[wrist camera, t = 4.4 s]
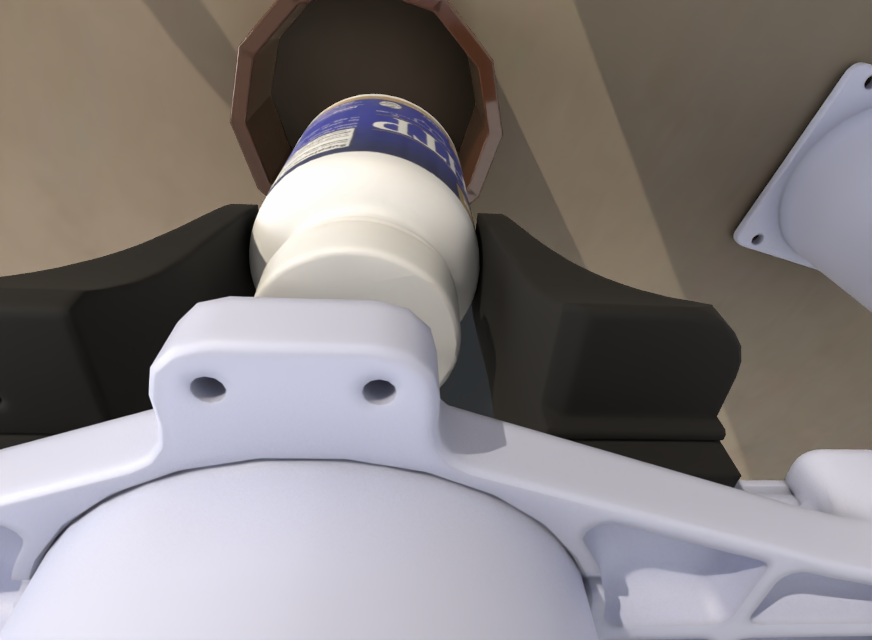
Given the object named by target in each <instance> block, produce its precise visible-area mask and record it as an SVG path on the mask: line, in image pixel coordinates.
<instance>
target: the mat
mask: <svg viewBox="0 0 872 640" xmlns="http://www.w3.org/2000/svg"><path fill="white" fill-rule="evenodd" d="M460 324H461V346H460V352H459V355H458V359H457V361H456V364H455V366H454V368H453V370H452V372H451V374H450V376H449V377H448V379H447V380H446V381H445V383H444V384H443V385H442V386H441V387H440V388H439V389H440V399H441V400H442V401H444V402H445V403H446V404H447V405H449V406H452V407H456V408H459V409H463V410H466V411H470V412H473V413H477V414H480V415H484V416H487V417H490V418H494V416H493V407H492V399H491V391H490V386H489V381H488V376H487V372H486V368H485V364H484V360H483V356H482V352H481V348H480V344H479V340H478V336H477V332H476V328H475V324H474V319H473V315H472V304H471V305H470V307H469V309H468V311H467V312H466V314H465V316H464V317H463V319H462V320H461V321H460Z"/></svg>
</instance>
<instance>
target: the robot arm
mask: <svg viewBox="0 0 872 640" xmlns="http://www.w3.org/2000/svg"><path fill="white" fill-rule="evenodd" d="M870 76H872V65H871V64H867V63H863V62H859V63H856V64H854V65H852V66H851V67H849V68H848V69H847V71H846V72H845V73H844V74H843V76H842V77H841V79H840V80H839V82H838V83H837V85H836V86H835V87H834V89H833V90H832V92H831V93H830V95H829V96H828V98H827V99H826V100H825V102H824V103H823V105H822V106H821V108H820V109H819V111H818V112H817V113H816V115H815V116H814V118H813V119H812V121H811V122H810V124H809V125H808V126H807V128H806V129H805V131H804V132H803V134H802V135H801V137H800V138H799V139H798V141H797V142H796V144H795V145H794V147H793V148H792V150H791V151H790V152H789V154H788V155H787V157H786V158H785V160H784V161H783V163H782V164H781V165H780V167H779V168H778V170H777V171H776V173H775V174H774V176H773V177H772V178H771V180H770V181H769V183H768V184H767V186H766V187H765V188H764V190H763V191H762V193H761V194H760V196H759V197H758V199H757V200H756V201H755V203H754V204H753V206H752V207H751V209H750V210H749V212H748V213H747V214H746V216H745V217H744V219H743V220H742V222H741V223H740V225H739V226H738V227H737V229H736V230H735V232H734V237H733V238H734V240H735V241H736V242H737V243H738V244H739V245H741V246H743V247H747V248H750V249H753V250H756V251H759V252H763V253H766V254H769V255H772V256H775V257H778V258H782V259H785V260H788V261H791V262H794V263H797V264H801V265H804V266H807V267H810V268H813V269H817V270H819V271H820V272H822V273H823V274H824V275H825V276H827V277H828V278H829V279H830V280H832V281H833V282H834V283H835V284H837V285H838V286H839V287H840V288H842V289H843V290H844V291H845V292H847V293H848V294H849V295H850V296H852V297H853V298H854V299H855V300H857V301H858V302H859V303H860V304H862V305H863V306H864V307H865V308H866V309H868V310H869V311H870V312H871V313H872V79H871V81H870V83H869V84H868V85H867V86H864V84H865V82H866V80H867V79H868V78H869V77H870ZM258 212H259V210H258V205H247V204H230V205H226V206H223V207H221V208H218V209H216V210H214V211H212V212H210V213H208V214H206V215H203V216H201V217H199V218H197V219H195V220H193V221H191V222H189V223H187V224H185V225H183V226H181V227H179V228H177V229H175V230H172V231H170V232H168V233H165V234H163V235H161V236H158V237H156V238H154V239H152V240H149V241H147V242H145V243H142V244H139V245H137V246H134V247H131V248H129V249H126V250H123V251H119V252H116V253H113V254H110V255H107V256H104V257H100V258H96V259H92V260H88V261H84V262H80V263H76V264H71V265H67V266H63V267H59V268H54V269H49V270H43V271H37V272H32V273H25V274H18V275H12V276H4V277H0V640H872V450H857V449H818V450H811V451H808V452H806V453H804V454H802V455H800V456H799V457H798V458H797V459H796V460H795V461H794V462H793V464H792V465H791V467H790V469H789V471H788V473H787V476H786V478H785V480H739V479H740V477H741V474H740V473H739V471H738V469H737V468H736V466H735V465H734V463H733V461H732V460H731V458H730V457H729V455H728V453H727V452H726V450H725V448H724V447H723V445H722V444H721V442H720V440H723V439H724V437H725V435H726V433H725V429H724V427H723V425H722V424H721V422H720V421H719V419H718V418H717V415H718V413H719V411H720V409H721V407H722V405H723V403H724V401H725V398H726V396H727V394H728V392H729V390H730V388H731V386H732V384H733V382H734V380H735V378H736V376H737V373H738V370H739V367H740V363H741V345H740V343H739V341H738V339H737V336H736V334H735V332H734V331H733V330H732V329H731V328H730V326H729V325H728V324H727V323H726V321H725V320H724V319H723V318H722V317H721V315H720V314H719V313H718V312H717V311H716V309H715V308H714V307H713V306H712V305H710V304H705V303H699V302H693V301H688V300H682V299H676V298H670V297H666V296H662V295H658V294H654V293H650V292H646V291H642V290H639V289H636V288H632V287H629V286H626V285H623V284H620V283H618V282H615V281H612V280H609V279H607V278H604V277H602V276H599V275H597V274H595V273H592V272H590V271H588V270H586V269H584V268H582V267H580V266H578V265H576V264H574V263H572V262H571V261H569V260H567V259H565V258H564V257H562V256H561V255H559V254H557V253H556V252H554V251H553V250H551V249H550V248H548V247H547V246H545V245H544V244H542V243H541V242H540V241H538V240H537V239H535V238H534V237H533V236H531V235H530V234H529V233H528V232H526V231H525V230H524V229H522V228H521V227H520V226H519V225H517V224H516V223H515V222H513V221H512V220H511V219H509V218H508V217H506V216H505V215H503V214H484V213H478V215H477V224H476V235H477V240H478V247H479V257H480V271H479V279H478V284H477V289H476V292H475V295H474V298H473V301H472V303H471V304H472V315H473V319H474V324H475V328H476V332H477V336H478V340H479V344H480V348H481V352H482V356H483V360H484V364H485V368H486V372H487V376H488V381H489V386H490V391H491V399H492V407H493V416H494V418H490V417H487V416H484V415H480V414H477V413H473V412H470V411H466V410H463V409H459V408H456V407H452V406H449V405H447V404H446V403H445V402H444V401H442V400H441V399H440V389H439V374H438V359H437V351H436V347H435V343H434V339H433V335H432V332H431V328H430V327H429V326H428V325H427V324H425V323H424V322H423V321H422V320H421V319H420V318H419V317H417V316H416V315H415V314H414V313H413V312H412V311H411V310H410V309H408V308H405V307H401V306H397V305H393V304H389V303H385V302H381V301H377V300H349V299H312V298H275V297H254V296H255V293H256V289H255V286H254V283H253V279H252V276H251V271H250V263H249V247H250V238H251V232H252V229H253V225H254V222H255V219H256V217H257V214H258ZM758 234H759V236H758V238H757V239H756V240H753V241H752V239H753V237H754V236H756V235H758Z"/></svg>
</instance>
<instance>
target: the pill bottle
mask: <svg viewBox="0 0 872 640" xmlns="http://www.w3.org/2000/svg"><path fill="white" fill-rule="evenodd" d="M249 263H250V271H251V276H252V279H253V283H254V286H255V289H256V293H255V296H254V297H275V298H312V299H349V300H377V301H381V302H385V303H389V304H393V305H397V306H401V307H405V308H408V309H410V310H411V311H412V312H413V313H414V314H415V315H416V316H417V317H419V318H420V319H421V320H422V321H423V322H424V323H425V324H427V325H428V326H429V327H430V328H431V332H432V335H433V339H434V343H435V347H436V351H437V359H438V374H439V388H440V387H441V386H442V385H443V384H444V383H445V381H446V380H447V379H448V377H449V376H450V374H451V372H452V370H453V368H454V366H455V364H456V361H457V359H458V355H459V352H460V346H461V324H460V321H461V320H462V319H463V317H464V316H465V314H466V312H467V311H468V309H469V307H470V305H471V303H472V301H473V298H474V295H475V292H476V289H477V284H478V279H479V271H480V257H479V247H478V240H477V235H476V231H475V226H474V222H473V217H472V213H471V209H470V204H469V200H468V195H467V191H466V186H465V182H464V178H463V173H462V169H461V165H460V161H459V158H458V155H457V151H456V149H455V146H454V144H453V142H452V140H451V138H450V137H449V135H448V133H447V132H446V131H445V129H444V128H443V127H442V125H441V124H440V123H439V122H438V121H437V120H436V119H435V118H434V117H433V116H432V115H430V114H429V113H428V112H427V111H425V110H424V109H422V108H421V107H419V106H417V105H415V104H413V103H411V102H409V101H407V100H404V99H401V98H398V97H394V96H389V95H383V94H364V95H358V96H354V97H350V98H347V99H344V100H342V101H339V102H337V103H335V104H333V105H332V106H330V107H329V108H327V109H325V110H324V111H323V112H321V113H320V114H319V115H318V116H317V117H316V118H315V119H314V120H313V121H312V122H311V124H310V125H309V126H308V127H307V129H306V130H305V132H304V133H303V135H302V136H301V138H300V139H299V141H298V143H297V145H296V146H295V148H294V150H293V151H292V153H291V155H290V156H289V158H288V160H287V161H286V163H285V165H284V167H283V168H282V170H281V172H280V173H279V175H278V177H277V179H276V180H275V182H274V184H273V185H272V187H271V189H270V191H269V192H268V194H267V196H266V197H265V199H264V201H263V204H262V206H261V208H260V210H259V212H258V214H257V217H256V219H255V222H254V225H253V229H252V232H251V238H250V247H249Z"/></svg>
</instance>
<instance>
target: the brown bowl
mask: <svg viewBox="0 0 872 640" xmlns="http://www.w3.org/2000/svg"><path fill="white" fill-rule="evenodd" d="M312 1H316V0H276V1H275V3H274V4H273V5H272V6H271V7H270V9H269V10H268V11H267V12H266V13H265V15H264V16H263V17H262V18H261V20H260V21H259V22H258V23H257V24H256V26H255V27H254V28H253V29H252V30H251V32H250V33H249V34H248V35H247V36H246V38H245V39H244V40H243V41H242V42H241V44H240V45H239V46H238V53H237V62H236V71H235V80H234V89H233V98H232V107H231V116H230V123H231V126H232V128H233V131H234V133H235V135H236V138H237V140H238V142H239V145H240V147H241V150H242V152H243V154H244V157H245V159H246V162H247V164H248V166H249V169H250V171H251V174H252V176H253V178H254V181H255V183H256V186H257V188H258V189H259V190H260V191H261V192H262V193H263V194H265V195H266V196H267V194H268V192H269V191H270V189H271V187H272V185H273V184H274V182H275V180H276V179H277V177H278V175H279V173H280V172H281V170H282V168H283V167H284V165H285V163H286V161H287V160H288V158H289V156H290V155H291V153H292V151H293V149H292V148H291V147H290V146H289V143H288V140H287V137H286V135H285V132H284V129H283V126H282V124H281V121H280V118H279V115H278V113H277V110H276V107H275V105H274V102H273V99H272V96H271V90H272V83H273V76H274V70H275V63H276V56H277V49H278V43H279V37H280V36H281V35H282V34H283V33H284V32H285V30H286V29H287V28H288V27H289V26H290V25H291V23H292V22H293V21H294V20H295V19H296V18H297V16H298V15H299V14H300V13H301V12H302V11H303V9H304V8H305V7H306V6H307V5H308V4H309V2H312ZM401 1H404V2H406V3H409V4H412V5H415V6H417V7H420V8H423V9H425V10H428V11H431V12H433V13H435V14H436V16H437V17H438V18H439V20H440V21H441V22H442V23H443V25H444V26H445V27H446V28H447V30H448V31H449V32H450V34H451V35H452V36H453V37H454V39H455V40H456V41H457V42H458V44H459V45H460V46H461V48H462V49H463V50H464V51H465V53H466V54H467V55H468V59H469V66H470V72H471V78H472V84H473V91H474V97H475V103H476V105H475V107H474V110H473V113H472V116H471V119H470V122H469V124H468V127H467V130H466V133H465V136H464V139H463V142H462V144H461V147H460V150H459V153H458V154H457V155H458V158H459V161H460V165H461V169H462V173H463V178H464V182H465V186H466V191H467V195H468V200H469V204H470V203H472V202H473V201H474V200H475V199H476V198H478V197H479V195H480V192H481V189H482V187H483V184H484V182H485V179H486V177H487V174H488V171H489V169H490V166H491V164H492V161H493V159H494V156H495V154H496V151H497V148H498V146H499V143H500V141H501V138H502V136H503V130H502V122H501V115H500V107H499V100H498V93H497V85H496V78H495V71H494V63H493V59H492V58H491V56H490V55H489V54H488V52H487V51H486V49H485V48H484V47H483V45H482V44H481V42H480V41H479V40H478V38H477V37H476V36H475V34H474V33H473V32H472V30H471V29H470V28H469V26H468V25H467V24H466V23H465V21H464V20H463V19H462V17H461V16H460V15H459V13H458V12H457V11H456V9H455V8H454V7H453V6H452V4H451V3H450V2H449V0H401Z"/></svg>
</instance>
